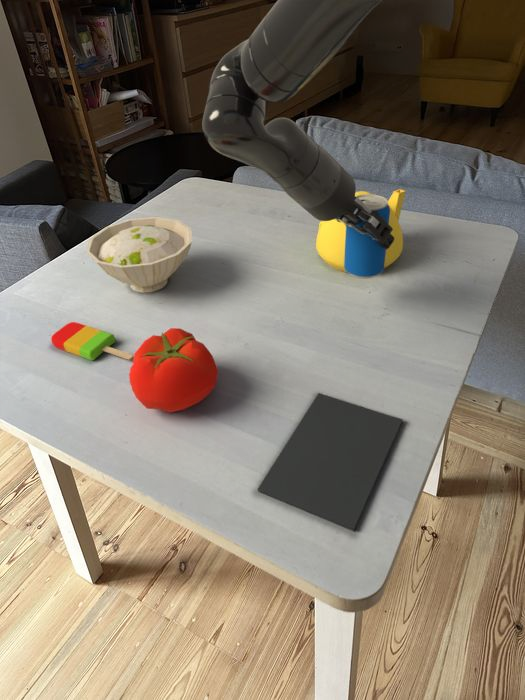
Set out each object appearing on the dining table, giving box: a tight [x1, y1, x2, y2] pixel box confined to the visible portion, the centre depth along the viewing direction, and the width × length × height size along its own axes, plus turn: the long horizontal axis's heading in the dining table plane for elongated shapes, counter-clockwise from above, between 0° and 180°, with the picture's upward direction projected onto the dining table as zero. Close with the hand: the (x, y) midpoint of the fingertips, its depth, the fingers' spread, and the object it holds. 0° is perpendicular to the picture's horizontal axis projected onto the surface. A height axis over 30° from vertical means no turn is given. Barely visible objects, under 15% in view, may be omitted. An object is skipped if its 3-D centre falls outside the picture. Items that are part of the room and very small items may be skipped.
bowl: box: [85, 216, 193, 294], centre depth 98 cm, size 19×19×10 cm
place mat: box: [257, 392, 403, 532], centre depth 67 cm, size 18×12×1 cm, turn 152°
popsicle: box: [50, 321, 134, 361], centre depth 86 cm, size 6×15×2 cm, turn 61°
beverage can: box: [344, 193, 390, 280], centre depth 85 cm, size 6×6×12 cm
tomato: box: [128, 327, 219, 413], centre depth 75 cm, size 13×12×8 cm
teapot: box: [315, 188, 406, 273], centre depth 103 cm, size 20×19×13 cm
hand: (373, 235), depth 85 cm, fingers closed on beverage can, 6 cm apart
